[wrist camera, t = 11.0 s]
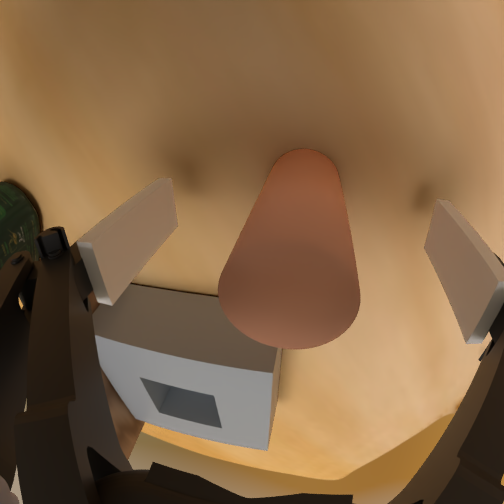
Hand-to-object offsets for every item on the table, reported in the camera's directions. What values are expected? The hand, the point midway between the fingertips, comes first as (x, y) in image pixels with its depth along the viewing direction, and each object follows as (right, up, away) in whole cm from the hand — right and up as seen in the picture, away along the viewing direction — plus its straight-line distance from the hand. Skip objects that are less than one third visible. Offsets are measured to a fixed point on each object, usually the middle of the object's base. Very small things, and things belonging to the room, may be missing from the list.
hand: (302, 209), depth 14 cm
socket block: (-7, -11, +12) cm, 18 cm away
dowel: (+1, +2, +3) cm, 3 cm away
